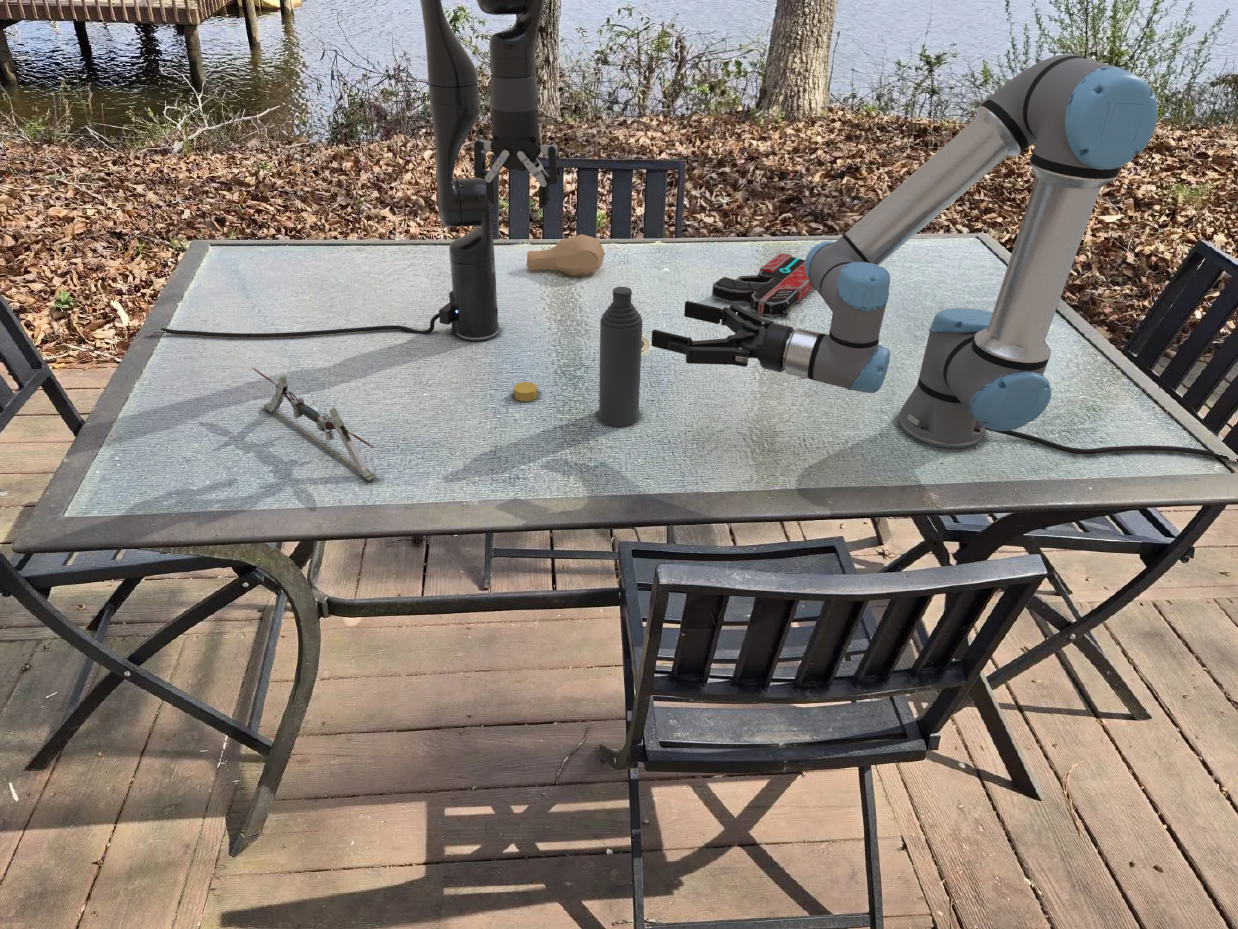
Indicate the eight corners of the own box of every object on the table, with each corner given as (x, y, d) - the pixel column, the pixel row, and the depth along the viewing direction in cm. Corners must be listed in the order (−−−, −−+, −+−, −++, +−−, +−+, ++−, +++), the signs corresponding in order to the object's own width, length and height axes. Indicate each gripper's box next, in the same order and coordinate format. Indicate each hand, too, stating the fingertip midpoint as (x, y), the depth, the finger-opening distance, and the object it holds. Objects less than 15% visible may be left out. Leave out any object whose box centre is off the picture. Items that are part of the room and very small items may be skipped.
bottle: (592, 411, 165) (593, 285, 151) (626, 403, 168) (631, 279, 154) (610, 430, 160) (613, 301, 146) (645, 421, 163) (651, 294, 149)
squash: (606, 279, 220) (601, 247, 214) (527, 286, 222) (521, 255, 215) (606, 257, 228) (602, 226, 222) (531, 264, 229) (524, 233, 223)
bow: (385, 483, 144) (378, 432, 138) (376, 488, 143) (368, 436, 137) (265, 401, 165) (254, 353, 160) (256, 404, 164) (245, 356, 158)
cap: (513, 401, 168) (513, 393, 167) (514, 390, 171) (514, 381, 170) (537, 401, 168) (536, 392, 167) (537, 390, 172) (537, 381, 171)
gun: (708, 284, 207) (784, 305, 199) (760, 245, 229) (831, 262, 221) (706, 302, 209) (781, 323, 201) (758, 261, 231) (828, 278, 223)
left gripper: (464, 106, 138) (471, 208, 147) (552, 112, 136) (553, 215, 145) (479, 97, 144) (485, 195, 153) (563, 102, 142) (564, 202, 151)
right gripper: (761, 404, 134) (636, 372, 142) (808, 342, 153) (696, 316, 161) (766, 360, 130) (638, 329, 138) (815, 301, 149) (699, 277, 156)
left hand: (518, 205), depth 149 cm, fingers open, 8 cm apart
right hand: (669, 322), depth 149 cm, fingers open, 13 cm apart
